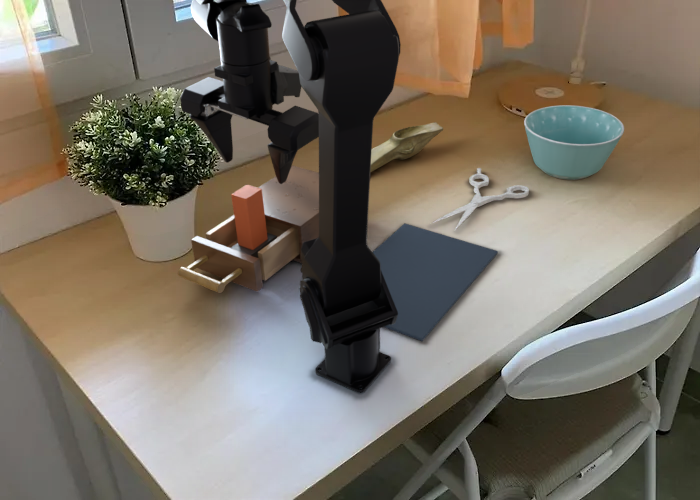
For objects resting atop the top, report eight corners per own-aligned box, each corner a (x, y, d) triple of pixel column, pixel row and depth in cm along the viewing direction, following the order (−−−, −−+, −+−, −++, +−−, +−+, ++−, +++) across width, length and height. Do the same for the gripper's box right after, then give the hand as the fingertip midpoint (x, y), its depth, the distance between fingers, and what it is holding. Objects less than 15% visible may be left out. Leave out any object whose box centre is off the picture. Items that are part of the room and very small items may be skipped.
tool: (347, 191, 117) (344, 167, 115) (329, 175, 122) (326, 152, 119) (456, 150, 125) (456, 127, 122) (435, 137, 130) (435, 114, 127)
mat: (422, 341, 83) (422, 338, 83) (319, 301, 90) (319, 299, 90) (497, 253, 98) (497, 250, 98) (404, 225, 106) (404, 223, 105)
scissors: (536, 184, 113) (472, 237, 100) (535, 188, 114) (472, 241, 101) (478, 167, 119) (411, 215, 106) (478, 171, 119) (411, 220, 106)
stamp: (250, 266, 95) (241, 204, 89) (230, 258, 96) (220, 197, 91) (278, 245, 99) (271, 185, 94) (258, 238, 100) (250, 179, 95)
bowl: (612, 196, 111) (622, 148, 106) (512, 183, 116) (517, 136, 111) (617, 154, 123) (626, 110, 118) (526, 144, 128) (531, 101, 123)
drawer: (232, 312, 88) (227, 282, 85) (169, 285, 93) (163, 257, 91) (317, 244, 100) (315, 216, 98) (257, 224, 106) (254, 197, 103)
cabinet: (303, 264, 98) (300, 226, 94) (237, 240, 104) (232, 203, 100) (359, 219, 108) (358, 183, 104) (295, 199, 113) (292, 165, 110)
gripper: (349, 53, 83) (349, 166, 93) (232, 20, 92) (242, 128, 101) (291, 85, 76) (296, 205, 86) (169, 47, 84) (186, 160, 94)
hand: (255, 171), depth 92 cm, fingers open, 9 cm apart
